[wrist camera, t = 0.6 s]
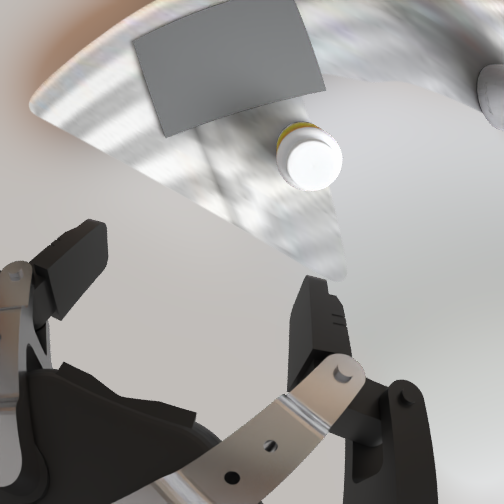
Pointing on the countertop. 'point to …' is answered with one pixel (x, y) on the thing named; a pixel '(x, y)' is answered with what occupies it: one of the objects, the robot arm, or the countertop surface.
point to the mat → (227, 62)
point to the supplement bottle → (308, 156)
